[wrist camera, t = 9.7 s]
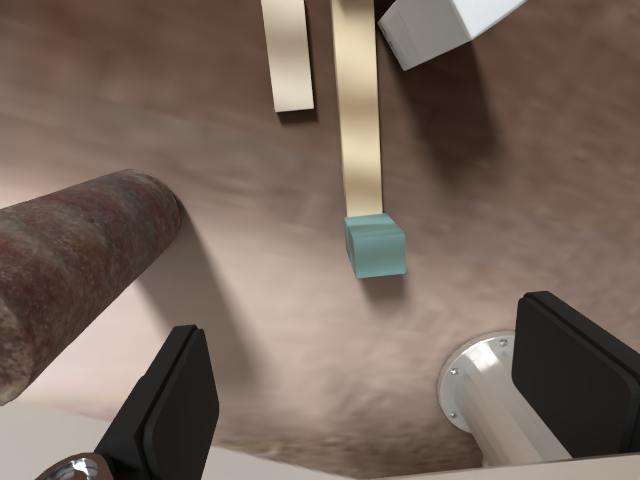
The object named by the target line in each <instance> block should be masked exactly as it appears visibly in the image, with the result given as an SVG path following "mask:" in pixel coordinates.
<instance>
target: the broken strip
mask: <svg viewBox="0 0 640 480" xmlns="http://www.w3.org/2000/svg"><path fill="white" fill-rule="evenodd" d="M261 1H262V9H263V17H264V25H265V33H266V41H267V49H268V57H269V65H270V73H271V81H272V89H273V97H274V105H275V112H284V111H294V110H304V109H313V108H314V106H313V95H312V85H311V74H310V63H309V53H308V42H307V31H306V21H305V10H304V0H261Z"/></svg>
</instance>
